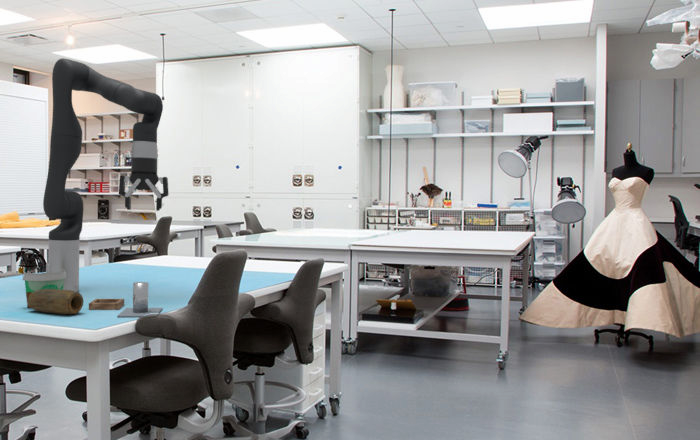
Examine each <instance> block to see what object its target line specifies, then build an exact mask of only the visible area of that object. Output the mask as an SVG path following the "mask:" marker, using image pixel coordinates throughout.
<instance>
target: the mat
mask: <svg viewBox="0 0 700 440" xmlns="http://www.w3.org/2000/svg"><path fill="white" fill-rule="evenodd" d="M162 311H163V307H148V312H145V313H134V312H133V307H126V308H124V309H123V310H122V311H121V312H120V313H119V314H117V315H116V318H142V317H141V316H144V315H146V314H150V313H159V314H160V313H161V312H162Z"/></svg>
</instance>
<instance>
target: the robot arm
mask: <svg viewBox="0 0 700 440" xmlns="http://www.w3.org/2000/svg"><path fill="white" fill-rule="evenodd" d="M51 73H52V76H51V77H52V78H51V82H52V118H51V119H52V120H51V132H50V143H49V145H50V146H49V147H50V148H49V161H48V169H47V170H48V171H47V178H46V181H45V182H46V183H45V188H44V193H43V201H42V205H43V207H42V208H43V212H44V215H45V216H46V217H47V218H49V219H51V220H60V221H59V222H60V223H59V225H57V226H56V227H55V228H53V229H51V230H50V231H49V232H48V255H47V256H48V257H47V258H48V259H47V260H48V262H47V263H46V264H45V273H57V272H61V269H62V270H65V272H66V276H67V278H65V279H64V286H63V290H71V291H75V292H78V293H79V290H80V239H81V237H80V236H81V233H82V230H83V224H84V223H83V222H84V221H83V220H84V201H83V197H82V196H81V194H80V193H78V192H77V191H73V190H66V183H67V179H68V175H69V173H70V171H71V170H72V169H73V167H74V165H75V164H76V162H77V160H79V157H80V155H81V152H82V145H83V129H82V126H81V124H80V121H79V119H78V116H77V114H76V112H75V110H74V105H73V91H75V92H88V93H94V94H96V95H99V96H101V97H102V98H103V99H105V100H107V101H109V102H110V103H113V104H116V105H117V106H121V107H124V108H125V109H126V110H128V111H131V112H132V113H136V114H138V115H143V116H142V119H141V121H138V122H135V123H134V124H133V126H132V145H131V160H130V161H131V162H130V163H131V164H130V165H131V166H130V167H131V169H130V172H131V173H130V175H128V176H127V175H122V174H121V175H120V176H119V184H118V187H119V188H118V195H120V196H122V197H124V207H125V208H126V210H127V211H128V210H131V208H132V197H131V196H132V195H133V194H134V193H135V192H136V191H152V192H153V193H154V195H155V196H156V200H155V201H156V202H155V203H156V205H155V206H156V207H155V208H156V211H160V210H161V209H162V208H163V198H166V197H168V196H169V194H170V193H169V179H168V177H167V176H163V177H161V176H158V158H159V154H158V150H159V149H158V128H159V125H160V122H161V117H162V114H163V110H164V104H163V100H162V98H161V96H160V95H158V94H157V93H155V92H150V91H147V90H142V89H139V88H135V87H134V86H133V85H131V84H128V83H126V82H124V81H121V80H117V79H114V78H111V77H108V76H105V75H103V74H101V73H100V72H98V71H96V70H95V69H93V67H91V66H89V65H88V64H86V63H84V62H79V61H76V60H73V59H70V58H69V59H68V58H59V59H57V60H56V62H55V63H54V66H53V67H52V72H51ZM128 181H130V183H131V184H132V185H131V186H130V187H129V189H128V190H127V191H125V190H126V184H127V183H128ZM158 183H160V184H161V185H162V190H163V191H162V193H161V192H160V190H159V189H158V187H157V186H156V185H157V184H158Z"/></svg>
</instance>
